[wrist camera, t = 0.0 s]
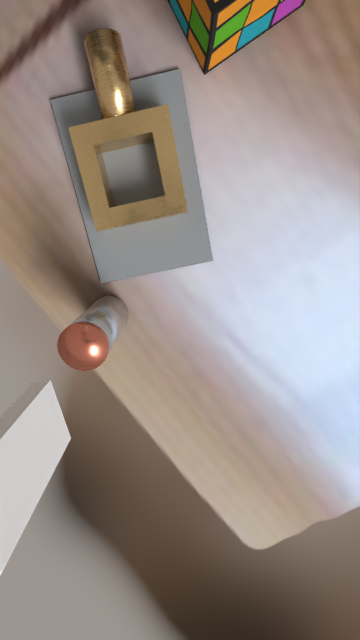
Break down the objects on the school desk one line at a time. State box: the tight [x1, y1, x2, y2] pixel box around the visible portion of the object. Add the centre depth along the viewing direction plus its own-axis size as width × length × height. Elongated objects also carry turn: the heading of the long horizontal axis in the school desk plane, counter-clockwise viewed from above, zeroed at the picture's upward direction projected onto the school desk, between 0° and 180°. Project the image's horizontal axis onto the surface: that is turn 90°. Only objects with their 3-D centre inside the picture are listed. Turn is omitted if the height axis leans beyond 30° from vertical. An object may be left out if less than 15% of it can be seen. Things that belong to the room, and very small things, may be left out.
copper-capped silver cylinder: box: [58, 296, 128, 371], centre depth 35 cm, size 5×5×12 cm
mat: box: [50, 69, 213, 283], centre depth 36 cm, size 20×14×1 cm
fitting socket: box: [68, 29, 188, 231], centre depth 33 cm, size 17×10×4 cm, turn 11°
